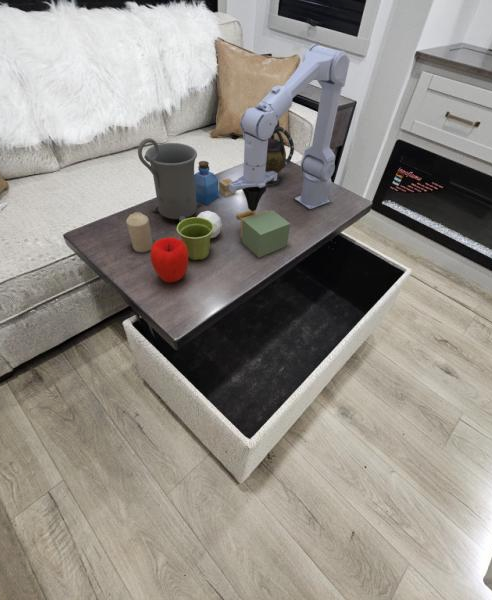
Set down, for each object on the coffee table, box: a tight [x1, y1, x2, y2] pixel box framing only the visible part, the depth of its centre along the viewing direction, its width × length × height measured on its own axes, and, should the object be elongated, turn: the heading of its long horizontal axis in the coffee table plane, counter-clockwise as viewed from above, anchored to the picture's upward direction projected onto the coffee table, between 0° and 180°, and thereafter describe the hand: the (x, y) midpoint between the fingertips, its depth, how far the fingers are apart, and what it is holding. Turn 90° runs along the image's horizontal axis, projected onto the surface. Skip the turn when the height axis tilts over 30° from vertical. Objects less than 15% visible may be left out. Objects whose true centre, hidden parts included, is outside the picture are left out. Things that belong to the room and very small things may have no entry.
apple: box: [149, 236, 189, 283], centre depth 81 cm, size 9×9×11 cm
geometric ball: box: [196, 210, 223, 239], centre depth 96 cm, size 8×8×8 cm
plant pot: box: [176, 216, 214, 261], centre depth 89 cm, size 9×9×9 cm
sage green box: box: [241, 209, 291, 259], centre depth 94 cm, size 8×10×8 cm
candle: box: [125, 211, 154, 253], centre depth 89 cm, size 6×6×10 cm
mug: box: [137, 137, 199, 223], centre depth 95 cm, size 19×15×25 cm
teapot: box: [265, 119, 295, 187], centre depth 114 cm, size 12×25×23 cm, turn 145°
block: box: [218, 178, 236, 198], centre depth 115 cm, size 4×4×4 cm
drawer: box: [235, 209, 268, 239], centre depth 97 cm, size 12×9×6 cm
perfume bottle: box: [194, 160, 219, 206], centre depth 109 cm, size 6×6×12 cm
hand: (252, 209), depth 95 cm, fingers closed
